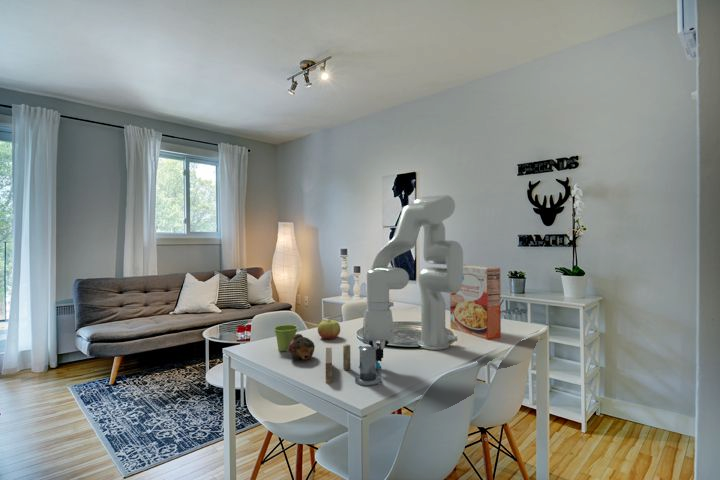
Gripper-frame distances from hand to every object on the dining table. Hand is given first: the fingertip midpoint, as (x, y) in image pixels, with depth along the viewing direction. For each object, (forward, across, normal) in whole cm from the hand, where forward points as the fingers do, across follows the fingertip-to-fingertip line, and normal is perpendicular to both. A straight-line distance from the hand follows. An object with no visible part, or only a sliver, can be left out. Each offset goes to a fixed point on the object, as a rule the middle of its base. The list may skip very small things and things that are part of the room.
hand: (378, 360), depth 129 cm
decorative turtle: (+3, +27, -13) cm, 30 cm away
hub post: (+3, +5, +11) cm, 12 cm away
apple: (+3, +17, -40) cm, 43 cm away
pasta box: (+3, -49, -41) cm, 64 cm away
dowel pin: (+3, +11, 0) cm, 11 cm away
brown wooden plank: (+3, +17, +3) cm, 17 cm away
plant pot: (+3, +34, -25) cm, 42 cm away
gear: (+3, +3, 0) cm, 4 cm away
